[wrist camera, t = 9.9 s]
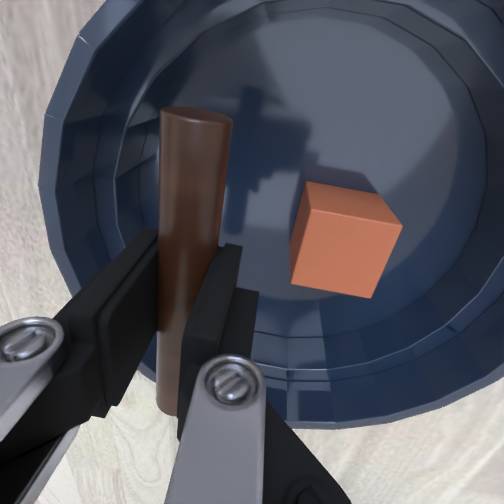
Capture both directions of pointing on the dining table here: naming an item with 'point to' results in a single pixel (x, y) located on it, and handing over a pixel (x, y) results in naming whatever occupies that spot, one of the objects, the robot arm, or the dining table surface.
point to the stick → (186, 227)
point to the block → (341, 239)
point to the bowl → (307, 179)
